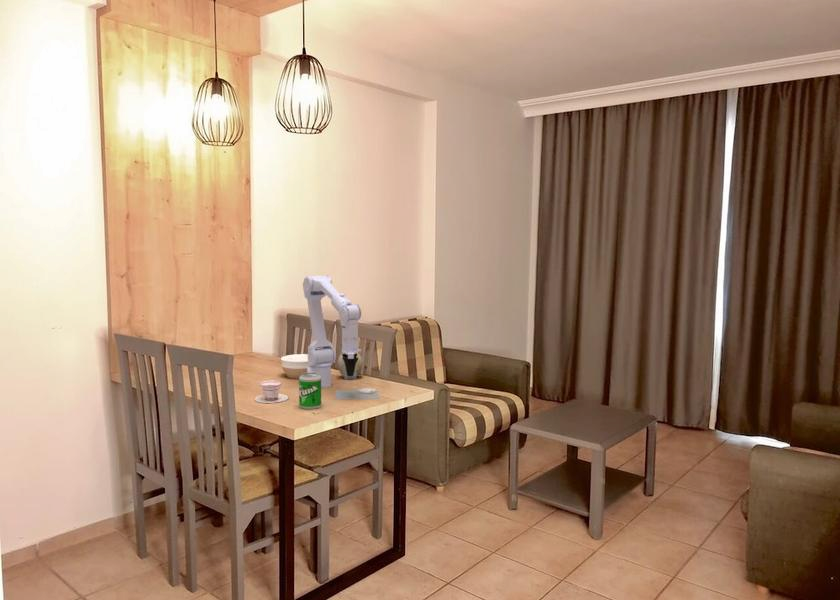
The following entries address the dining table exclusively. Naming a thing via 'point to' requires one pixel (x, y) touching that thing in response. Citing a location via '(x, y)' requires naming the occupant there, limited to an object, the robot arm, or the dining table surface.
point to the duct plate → (357, 394)
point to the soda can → (310, 391)
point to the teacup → (271, 392)
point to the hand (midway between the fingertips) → (349, 374)
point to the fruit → (359, 363)
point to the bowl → (295, 365)
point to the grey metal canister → (350, 376)
